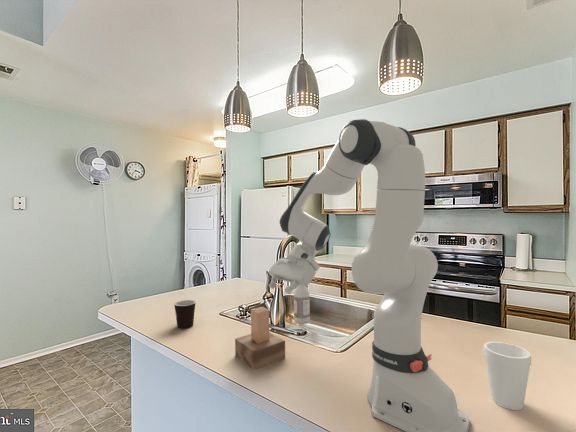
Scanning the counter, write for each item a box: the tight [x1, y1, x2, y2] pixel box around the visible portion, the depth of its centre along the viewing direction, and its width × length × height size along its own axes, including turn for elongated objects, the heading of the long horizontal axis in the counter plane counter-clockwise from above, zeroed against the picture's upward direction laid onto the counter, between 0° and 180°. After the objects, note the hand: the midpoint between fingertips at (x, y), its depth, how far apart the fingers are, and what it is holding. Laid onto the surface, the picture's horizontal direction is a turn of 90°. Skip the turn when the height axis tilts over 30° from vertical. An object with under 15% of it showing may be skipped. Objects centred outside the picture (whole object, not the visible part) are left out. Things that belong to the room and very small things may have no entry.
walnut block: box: [234, 331, 286, 370], centre depth 99 cm, size 12×12×6 cm
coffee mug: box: [174, 299, 196, 330], centre depth 129 cm, size 12×9×10 cm
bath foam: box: [293, 285, 311, 325], centre depth 131 cm, size 7×7×20 cm
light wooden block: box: [250, 306, 270, 343], centre depth 99 cm, size 4×4×10 cm
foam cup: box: [483, 340, 532, 411], centre depth 74 cm, size 10×9×13 cm
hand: (278, 290), depth 104 cm, fingers open, 8 cm apart
